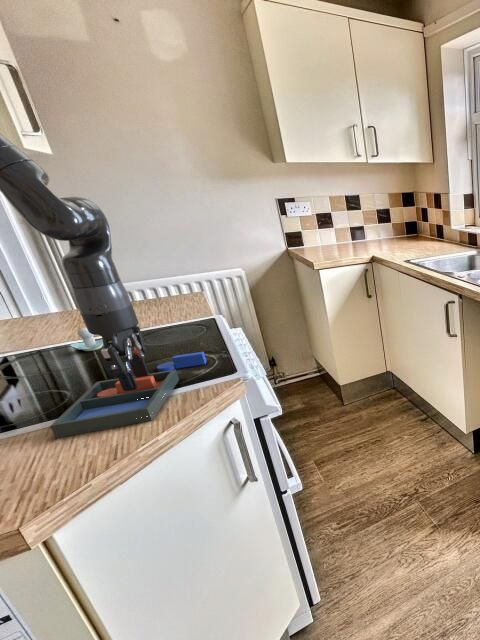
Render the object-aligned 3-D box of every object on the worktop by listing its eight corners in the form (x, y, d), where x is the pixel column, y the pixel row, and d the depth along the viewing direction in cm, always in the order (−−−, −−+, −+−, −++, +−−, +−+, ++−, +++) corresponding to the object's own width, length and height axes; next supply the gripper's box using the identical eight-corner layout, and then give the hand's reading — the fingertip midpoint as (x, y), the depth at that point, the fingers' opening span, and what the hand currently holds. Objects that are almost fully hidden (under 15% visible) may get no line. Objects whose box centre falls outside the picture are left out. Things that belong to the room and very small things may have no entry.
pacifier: (77, 348, 113) (72, 355, 109) (67, 326, 111) (62, 332, 106) (113, 342, 117) (110, 348, 113) (104, 320, 115) (101, 326, 110)
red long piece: (95, 402, 85) (89, 389, 84) (103, 393, 88) (98, 382, 87) (153, 392, 88) (148, 380, 87) (159, 384, 91) (154, 373, 90)
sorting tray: (55, 438, 75) (49, 426, 74) (101, 392, 90) (96, 381, 89) (152, 420, 80) (147, 408, 79) (179, 379, 95) (175, 369, 94)
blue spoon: (155, 373, 98) (151, 362, 97) (161, 367, 101) (157, 356, 100) (204, 366, 102) (200, 355, 100) (207, 360, 105) (204, 349, 104)
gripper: (98, 298, 86) (128, 372, 93) (61, 320, 74) (99, 403, 81) (143, 294, 89) (169, 365, 95) (114, 314, 77) (146, 394, 83)
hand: (137, 382), depth 88 cm, fingers open, 6 cm apart
